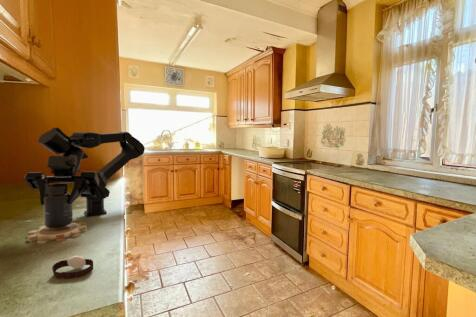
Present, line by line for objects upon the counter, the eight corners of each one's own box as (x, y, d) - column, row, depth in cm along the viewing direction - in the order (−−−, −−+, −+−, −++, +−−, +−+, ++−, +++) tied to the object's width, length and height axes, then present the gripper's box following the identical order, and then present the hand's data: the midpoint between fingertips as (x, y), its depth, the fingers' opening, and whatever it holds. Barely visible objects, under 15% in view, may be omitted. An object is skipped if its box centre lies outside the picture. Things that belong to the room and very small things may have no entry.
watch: (97, 267, 55) (97, 251, 55) (88, 279, 50) (87, 262, 50) (59, 269, 54) (59, 253, 53) (46, 281, 49) (46, 264, 49)
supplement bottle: (38, 228, 69) (36, 187, 68) (54, 220, 76) (52, 182, 75) (63, 228, 69) (61, 187, 68) (77, 220, 76) (76, 182, 75)
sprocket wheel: (28, 230, 74) (28, 226, 74) (83, 221, 83) (83, 217, 83) (26, 248, 63) (26, 242, 62) (90, 235, 72) (90, 230, 72)
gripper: (25, 145, 72) (2, 190, 62) (95, 146, 77) (84, 188, 67) (41, 168, 80) (22, 210, 71) (103, 167, 85) (94, 207, 75)
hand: (55, 203), depth 71 cm, fingers closed on supplement bottle, 7 cm apart
